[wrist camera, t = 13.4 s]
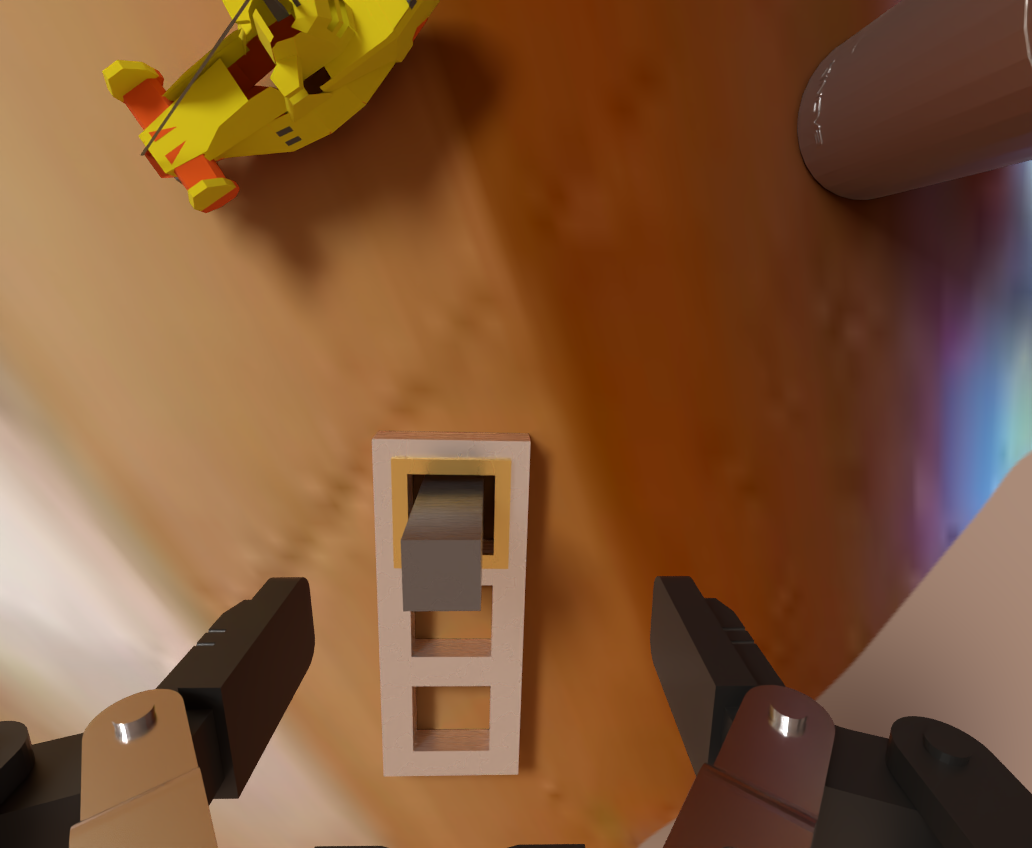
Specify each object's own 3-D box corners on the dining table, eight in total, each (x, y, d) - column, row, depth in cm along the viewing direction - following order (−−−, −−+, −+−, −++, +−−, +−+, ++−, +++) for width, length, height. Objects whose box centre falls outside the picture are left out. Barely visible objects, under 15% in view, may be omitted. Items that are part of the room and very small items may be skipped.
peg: (483, 474, 36) (480, 540, 27) (483, 528, 37) (480, 610, 28) (425, 474, 36) (400, 540, 27) (426, 528, 37) (403, 611, 28)
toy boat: (154, 128, 31) (-2, 52, 21) (414, -58, 29) (375, -233, 19) (225, 229, 32) (110, 201, 22) (477, 56, 31) (471, -54, 21)
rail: (528, 433, 36) (531, 442, 34) (517, 752, 42) (518, 777, 40) (378, 430, 35) (370, 440, 33) (388, 753, 42) (383, 779, 39)
